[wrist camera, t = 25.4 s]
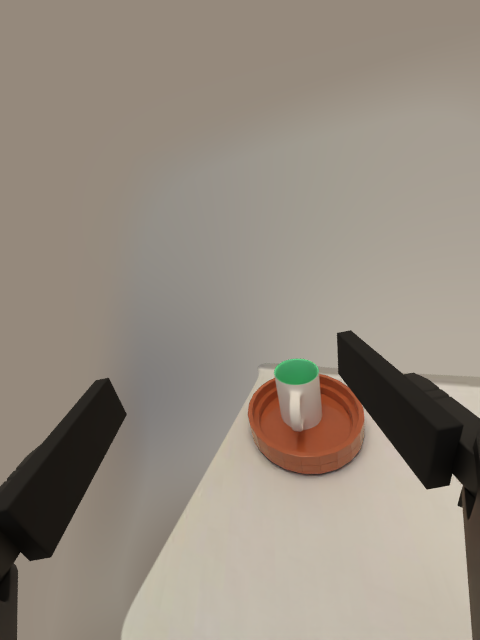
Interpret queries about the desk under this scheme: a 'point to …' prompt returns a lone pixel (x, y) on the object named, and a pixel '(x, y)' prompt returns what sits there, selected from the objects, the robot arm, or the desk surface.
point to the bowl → (310, 444)
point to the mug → (299, 393)
